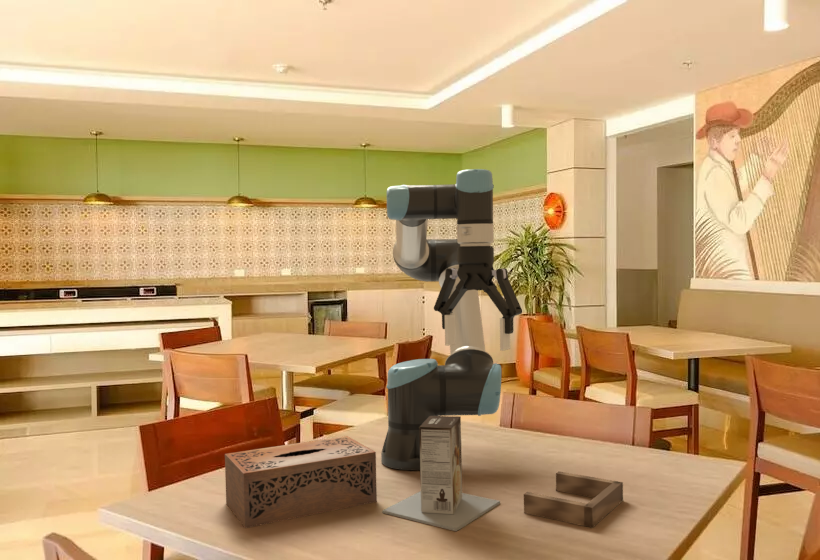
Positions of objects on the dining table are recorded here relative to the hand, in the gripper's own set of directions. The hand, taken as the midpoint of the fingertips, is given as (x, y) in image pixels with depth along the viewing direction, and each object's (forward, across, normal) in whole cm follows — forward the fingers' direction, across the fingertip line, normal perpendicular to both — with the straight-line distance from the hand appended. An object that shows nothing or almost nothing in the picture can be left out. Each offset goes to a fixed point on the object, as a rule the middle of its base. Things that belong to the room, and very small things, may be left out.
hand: (476, 347), depth 143 cm
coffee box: (+28, +3, -17) cm, 33 cm away
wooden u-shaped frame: (+28, +22, -2) cm, 36 cm away
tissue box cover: (+29, -22, -30) cm, 47 cm away
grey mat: (+28, +3, -17) cm, 33 cm away
